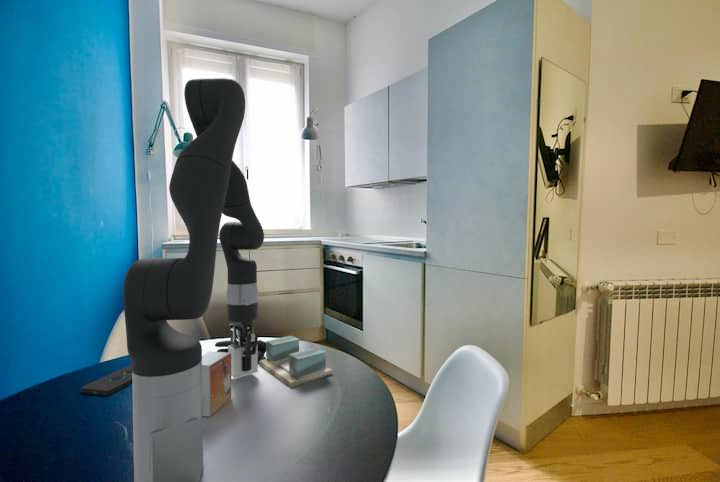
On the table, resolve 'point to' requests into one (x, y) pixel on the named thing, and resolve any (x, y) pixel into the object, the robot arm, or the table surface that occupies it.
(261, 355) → the can opener
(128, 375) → the smart home device
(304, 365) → the rail board
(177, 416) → the robot arm
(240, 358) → the block
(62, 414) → the table surface
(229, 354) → the small box
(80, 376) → the table surface
